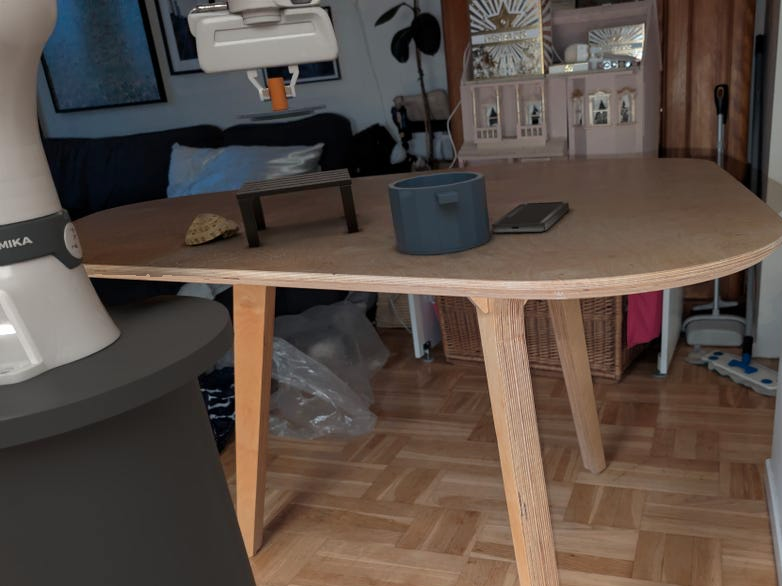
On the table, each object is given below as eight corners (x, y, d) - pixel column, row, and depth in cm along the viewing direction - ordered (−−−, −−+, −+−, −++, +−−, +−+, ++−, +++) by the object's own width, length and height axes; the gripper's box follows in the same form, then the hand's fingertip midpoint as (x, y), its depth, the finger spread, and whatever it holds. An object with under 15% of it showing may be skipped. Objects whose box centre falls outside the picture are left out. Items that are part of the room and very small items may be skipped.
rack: (247, 248, 106) (235, 194, 103) (256, 229, 120) (245, 181, 117) (360, 231, 108) (351, 179, 105) (355, 214, 123) (347, 168, 120)
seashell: (247, 222, 114) (197, 211, 109) (242, 256, 115) (191, 247, 110) (232, 217, 120) (184, 207, 115) (227, 249, 121) (178, 240, 116)
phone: (570, 201, 107) (543, 223, 94) (570, 208, 107) (544, 231, 94) (520, 203, 109) (488, 225, 97) (521, 210, 110) (489, 233, 97)
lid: (232, 125, 100) (222, 83, 98) (241, 120, 113) (233, 83, 110) (327, 113, 102) (320, 72, 100) (326, 110, 115) (319, 73, 113)
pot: (405, 264, 86) (395, 196, 83) (391, 236, 103) (382, 178, 99) (504, 249, 88) (498, 181, 85) (475, 224, 105) (469, 166, 101)
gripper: (180, 3, 97) (205, 108, 102) (329, -11, 100) (346, 92, 105) (187, 7, 102) (211, 107, 108) (328, -6, 106) (344, 92, 111)
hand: (279, 100), depth 107 cm, fingers closed on lid, 2 cm apart
